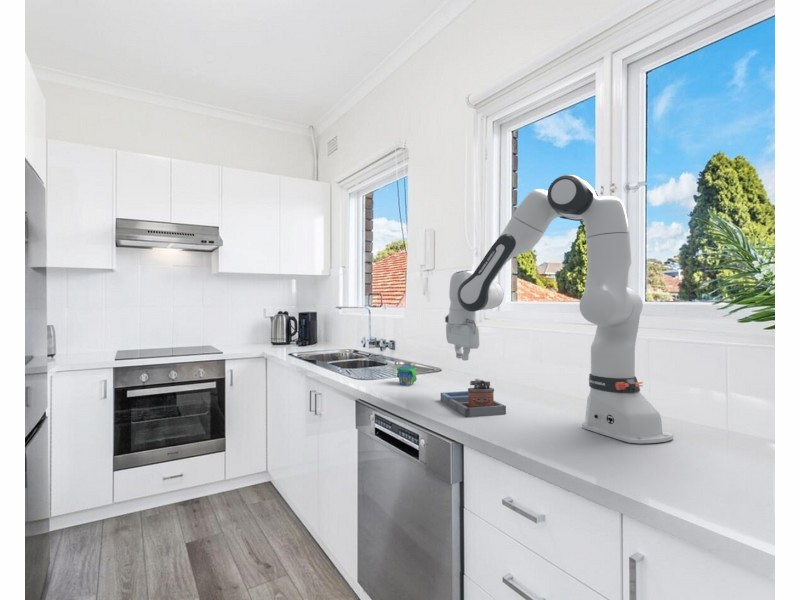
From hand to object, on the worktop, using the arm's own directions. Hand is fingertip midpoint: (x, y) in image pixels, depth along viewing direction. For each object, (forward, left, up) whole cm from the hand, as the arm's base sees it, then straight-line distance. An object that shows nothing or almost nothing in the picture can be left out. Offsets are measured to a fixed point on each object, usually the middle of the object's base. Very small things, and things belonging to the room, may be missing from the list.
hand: (462, 359), depth 153 cm
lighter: (-14, 0, -15) cm, 21 cm away
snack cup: (+34, +10, -15) cm, 38 cm away
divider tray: (-7, 0, -15) cm, 16 cm away
